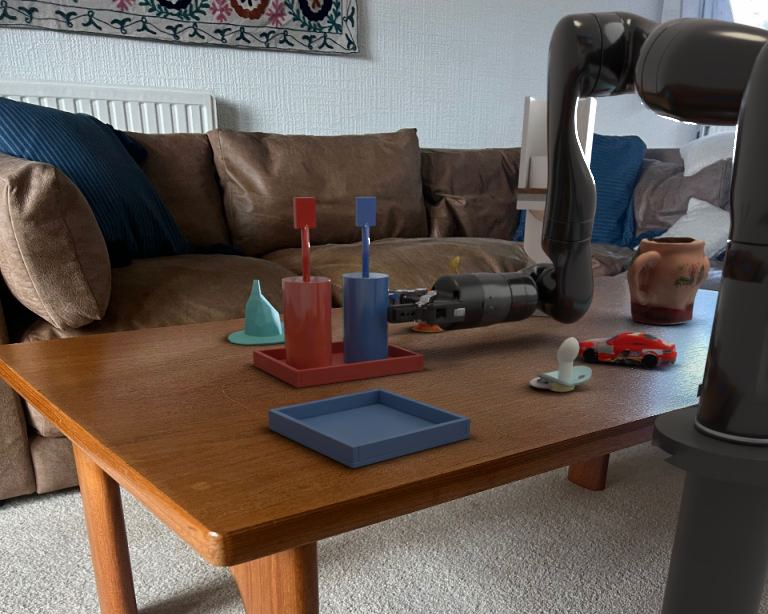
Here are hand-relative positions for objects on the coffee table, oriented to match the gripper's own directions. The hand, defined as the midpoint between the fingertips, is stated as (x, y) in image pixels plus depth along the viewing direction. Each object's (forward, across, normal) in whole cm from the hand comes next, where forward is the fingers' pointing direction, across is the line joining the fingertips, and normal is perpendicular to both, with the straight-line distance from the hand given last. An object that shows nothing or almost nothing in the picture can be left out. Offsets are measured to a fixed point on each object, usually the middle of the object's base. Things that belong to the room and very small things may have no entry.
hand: (371, 309), depth 102 cm
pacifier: (-13, +22, +7) cm, 26 cm away
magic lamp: (-19, -16, +7) cm, 26 cm away
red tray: (+5, 0, +7) cm, 9 cm away
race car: (-31, +16, +7) cm, 36 cm away
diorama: (+2, -25, +7) cm, 26 cm away
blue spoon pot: (+1, 0, +7) cm, 7 cm away
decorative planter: (-59, -3, +7) cm, 60 cm away
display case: (-50, -21, +7) cm, 54 cm away
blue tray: (+16, +26, +7) cm, 31 cm away
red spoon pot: (+9, 0, +7) cm, 11 cm away
